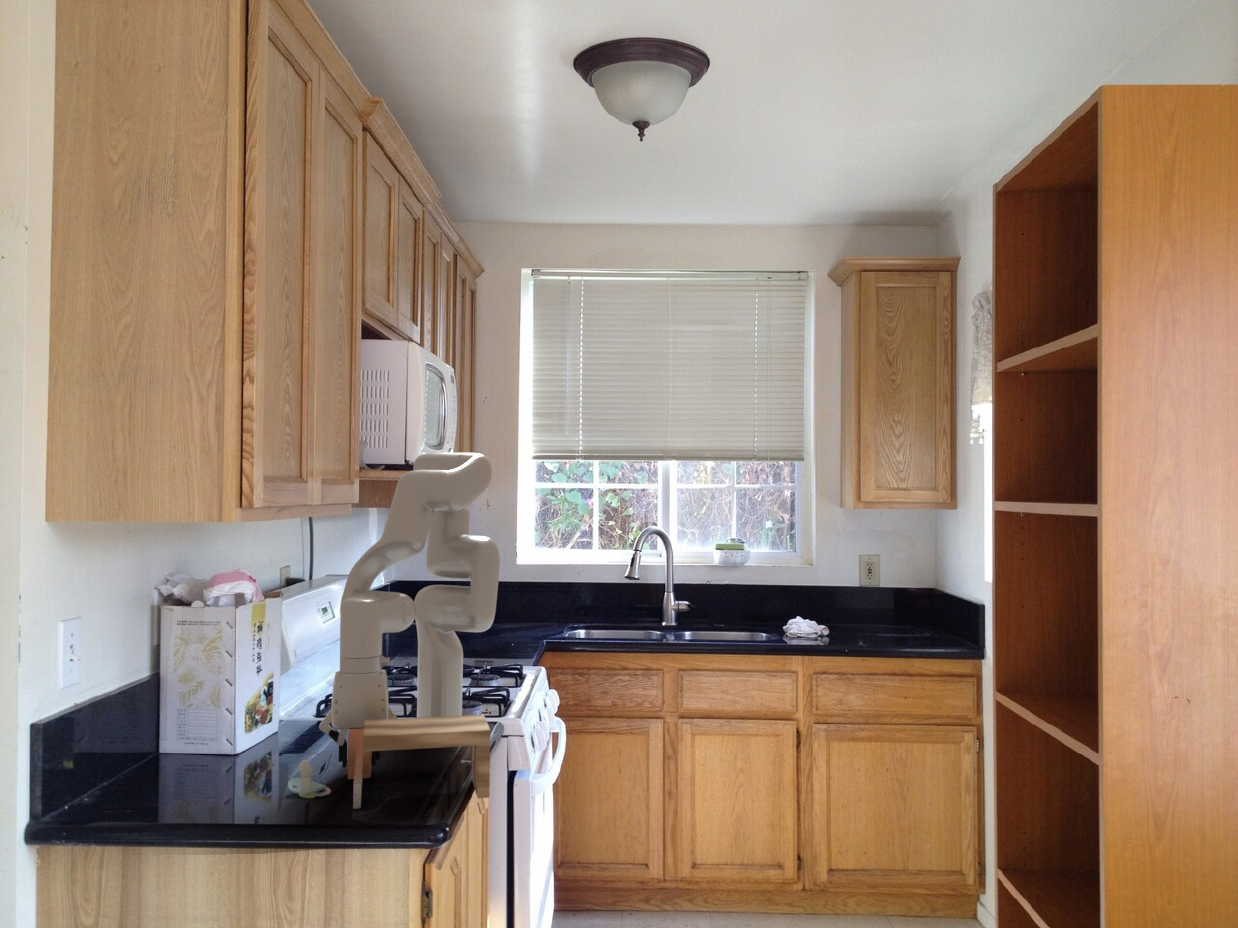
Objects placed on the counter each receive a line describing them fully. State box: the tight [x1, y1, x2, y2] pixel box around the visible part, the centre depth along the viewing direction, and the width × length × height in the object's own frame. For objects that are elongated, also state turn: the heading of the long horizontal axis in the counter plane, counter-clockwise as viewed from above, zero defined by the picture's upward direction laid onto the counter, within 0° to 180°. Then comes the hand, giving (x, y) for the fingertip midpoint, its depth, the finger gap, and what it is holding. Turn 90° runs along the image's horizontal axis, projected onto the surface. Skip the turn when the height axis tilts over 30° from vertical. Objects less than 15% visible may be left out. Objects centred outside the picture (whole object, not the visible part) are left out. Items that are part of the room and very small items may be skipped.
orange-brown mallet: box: [347, 728, 372, 810], centre depth 167 cm, size 20×4×9 cm, turn 14°
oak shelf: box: [363, 714, 491, 799], centre depth 166 cm, size 11×21×12 cm, turn 104°
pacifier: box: [287, 759, 332, 799], centre depth 164 cm, size 7×6×6 cm
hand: (359, 763), depth 174 cm, fingers open, 4 cm apart
